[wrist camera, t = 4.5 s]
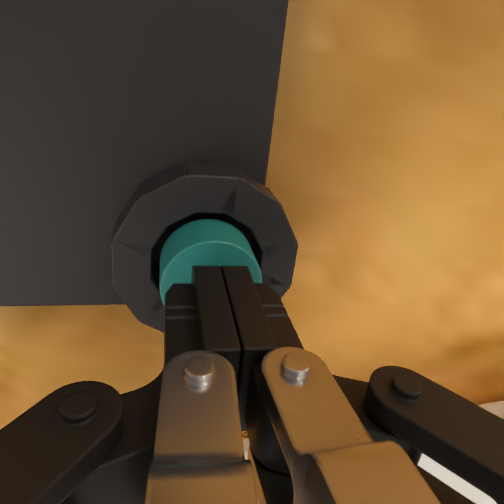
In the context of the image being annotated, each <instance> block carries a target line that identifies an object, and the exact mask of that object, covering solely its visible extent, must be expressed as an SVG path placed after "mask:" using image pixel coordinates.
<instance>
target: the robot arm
mask: <svg viewBox="0 0 504 504" xmlns="http://www.w3.org/2000/svg"><path fill="white" fill-rule="evenodd" d="M242 431H247V433H248V438H249V449H248V455H247V460H246V459H245V455H244V447H243V439H242ZM422 453H423V454H424V455H426V456H428V457H429V458H431V459H432V460H434V461H435V462H437V463H438V464H440V465H442V466H443V467H445V468H446V469H448V470H449V471H451V472H452V473H454V474H456V475H457V476H459V477H460V478H462V479H463V480H465V481H466V482H468V483H470V484H471V485H473V486H474V487H476V488H477V489H479V490H480V491H482V492H484V493H485V494H487V495H488V496H490V497H491V498H492V499H493V500H494V501H495V502H496V503H497V504H504V419H502V418H500V417H498V416H497V415H495V414H493V413H491V412H489V411H487V410H485V409H484V408H482V407H480V406H478V405H476V404H474V403H472V402H470V401H469V400H467V399H465V398H463V397H461V396H459V395H457V394H455V393H454V392H452V391H450V390H448V389H446V388H444V387H442V386H441V385H439V384H437V383H435V382H433V381H431V380H429V379H427V378H426V377H424V376H422V375H420V374H418V373H416V372H414V371H412V370H409V369H406V368H402V367H397V366H384V367H380V368H378V369H376V370H375V371H374V372H373V373H372V375H371V377H370V381H369V382H363V381H358V380H353V379H348V378H343V377H339V376H335V375H333V374H331V372H330V371H329V369H328V367H327V366H326V364H325V363H324V362H323V361H322V360H321V359H320V358H319V357H318V356H316V355H315V354H313V353H311V352H309V351H307V350H304V348H303V346H302V344H301V342H300V340H299V338H298V335H297V333H296V331H295V329H294V327H293V325H292V323H291V320H290V318H289V317H288V314H287V312H286V310H285V307H283V303H282V301H281V299H280V297H279V295H278V293H277V292H276V291H275V290H274V289H272V288H271V287H270V286H269V285H268V284H266V283H254V281H253V279H252V276H251V273H250V271H249V268H248V266H206V265H193V266H192V274H191V283H173V284H172V286H171V287H170V288H169V290H168V291H167V292H166V294H165V322H164V368H163V370H162V372H161V373H160V374H159V375H158V377H157V378H156V379H154V380H153V381H152V382H150V383H149V384H147V385H146V386H144V387H142V388H139V389H136V390H134V391H130V392H127V393H124V394H121V395H120V394H119V393H118V392H117V391H116V390H115V389H114V388H113V387H111V386H110V385H107V384H105V383H101V382H96V381H82V382H76V383H72V384H68V385H66V386H63V387H61V388H59V389H57V390H55V391H53V392H52V393H50V394H49V395H48V396H46V397H45V398H43V399H42V400H41V401H39V402H38V403H37V404H35V405H34V406H32V407H31V408H30V409H28V410H27V411H26V412H24V413H23V414H22V415H20V416H19V417H17V418H16V419H15V420H13V421H12V422H11V423H9V424H8V425H6V426H5V427H4V428H2V429H1V430H0V504H258V502H259V504H476V503H474V502H472V501H471V500H469V499H468V498H466V497H465V496H463V495H462V494H460V493H459V492H457V491H456V490H454V489H453V488H451V487H450V486H448V485H447V484H445V483H444V482H442V481H441V480H439V479H438V478H436V477H435V476H433V475H432V474H430V473H429V472H427V471H426V470H424V469H423V468H421V467H420V466H418V462H419V460H420V458H421V455H422Z"/></svg>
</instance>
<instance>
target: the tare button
mask: <svg viewBox="0 0 504 504" xmlns="http://www.w3.org/2000/svg"><path fill="white" fill-rule="evenodd" d="M193 265H206V266H248V268H249V271H250V273H251V276H252V279H253V281H254V283H262V274H261V270H260V267H259V265H258V263H257V260H256V258H255V256H254V254H253V251H252V249H251V247H250V245H249V242H248V241H247V239H246V237H245V236H244V235H243V233H242V232H241V231H240V230H239V229H237V228H236V227H235V226H233V225H231V224H229V223H227V222H224V221H221V220H217V219H200V220H195V221H191V222H189V223H187V224H184V225H183V226H181V227H179V228H178V229H177V230H175V231H174V232H173V233H172V234H171V235H170V236H169V238H168V239H167V240H166V242H165V244H164V246H163V248H162V251H161V255H160V285H159V287H160V296H161V299H162V302H163V304H164V306H165V294H166V292H167V291H168V290H169V288H170V287H171V286H172V284H173V283H191V274H192V266H193Z"/></svg>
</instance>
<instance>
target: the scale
mask: <svg viewBox="0 0 504 504" xmlns="http://www.w3.org/2000/svg"><path fill="white" fill-rule="evenodd" d="M287 7H288V0H0V306H43V305H108V304H126V305H127V306H128V307H129V309H130V310H131V311H132V313H133V314H134V315H135V317H136V318H137V319H138V320H139V321H140V322H141V323H143V324H146V325H148V326H150V327H153V328H155V329H157V330H159V331H162V332H164V322H165V306H164V304H163V302H162V299H161V296H160V287H159V285H160V255H161V251H162V248H163V246H164V244H165V242H166V240H167V239H168V238H169V236H170V235H171V234H172V233H173V232H174V231H175V230H177V229H178V228H179V227H181V226H183V225H184V224H187V223H189V222H191V221H195V220H200V219H217V220H221V221H224V222H227V223H229V224H231V225H233V226H235V227H236V228H237V229H239V230H240V231H241V232H242V233H243V235H244V236H245V237H246V239H247V241H248V242H249V245H250V247H251V249H252V251H253V254H254V256H255V258H256V260H257V263H258V265H259V267H260V270H261V274H262V283H266V284H268V285H269V286H270V287H271V288H272V289H274V290H275V291H276V292H277V293H278V295H279V297H280V299H281V297H282V296H283V295H284V294H285V292H286V291H287V290H288V289H289V288H290V285H291V283H292V277H293V271H294V265H295V260H296V254H297V248H298V244H297V240H296V238H295V235H294V233H293V231H292V228H291V226H290V224H289V221H288V219H287V217H286V214H285V212H284V210H283V207H282V205H281V204H280V203H279V201H278V200H277V199H276V197H275V196H274V195H273V193H272V192H271V191H270V190H269V188H267V187H266V186H265V182H266V174H267V166H268V158H269V150H270V142H271V134H272V126H273V118H274V110H275V102H276V94H277V87H278V79H279V71H280V63H281V55H282V47H283V39H284V31H285V23H286V15H287Z"/></svg>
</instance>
